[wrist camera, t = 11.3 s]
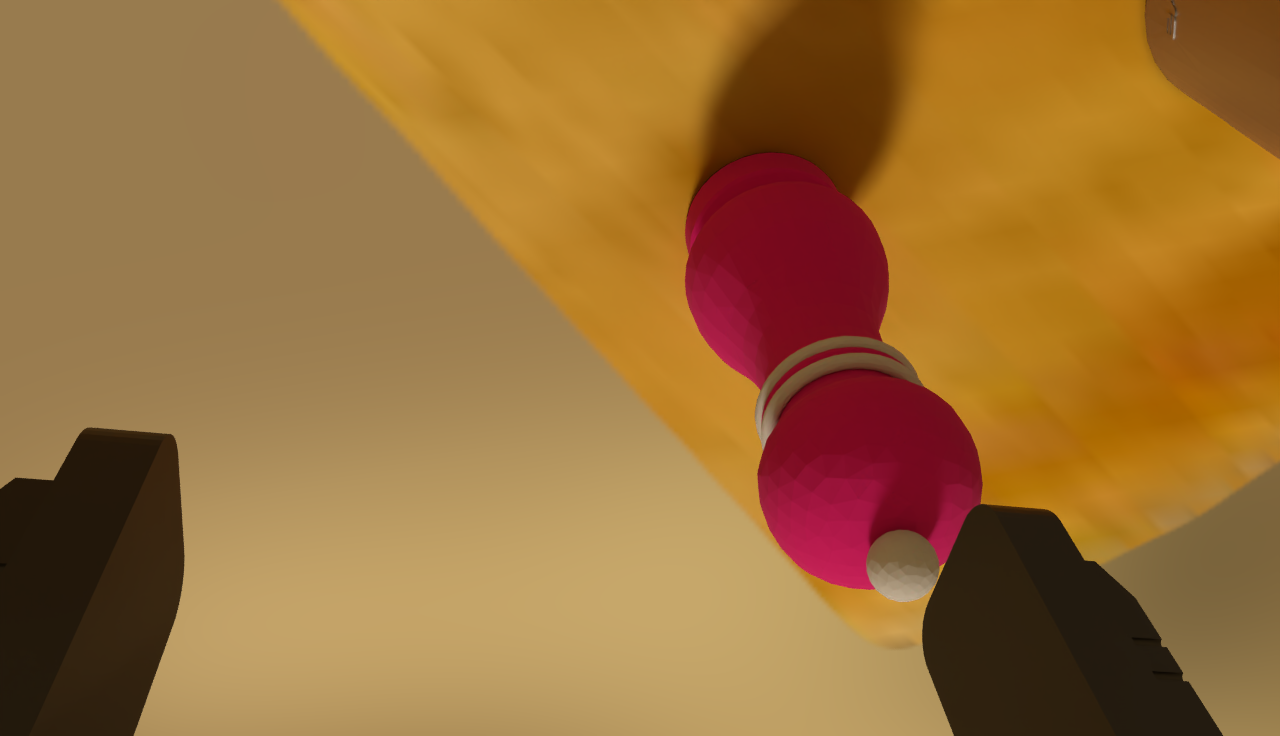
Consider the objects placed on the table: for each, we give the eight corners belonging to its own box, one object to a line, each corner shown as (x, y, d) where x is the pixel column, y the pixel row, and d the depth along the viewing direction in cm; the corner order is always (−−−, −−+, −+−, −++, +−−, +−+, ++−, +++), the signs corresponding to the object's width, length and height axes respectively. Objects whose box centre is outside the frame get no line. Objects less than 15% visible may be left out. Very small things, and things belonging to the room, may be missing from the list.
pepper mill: (678, 136, 41) (784, 477, 24) (868, 139, 42) (1096, 471, 25) (666, 305, 45) (750, 696, 28) (839, 304, 46) (1020, 686, 29)
